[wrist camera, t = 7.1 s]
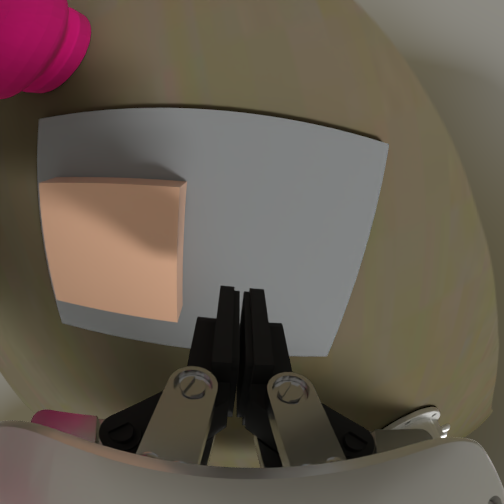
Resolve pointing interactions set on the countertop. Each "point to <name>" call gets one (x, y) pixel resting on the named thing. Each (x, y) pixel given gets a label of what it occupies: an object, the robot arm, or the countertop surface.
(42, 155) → the mat
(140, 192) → the tile
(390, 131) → the countertop surface
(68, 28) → the pepper mill
